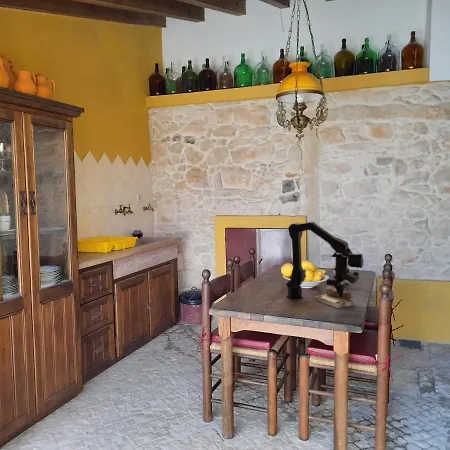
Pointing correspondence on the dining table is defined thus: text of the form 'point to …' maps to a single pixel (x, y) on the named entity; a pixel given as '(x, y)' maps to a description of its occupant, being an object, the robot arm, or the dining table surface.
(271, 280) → the dining table surface
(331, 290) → the walnut leg
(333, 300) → the birch seat
